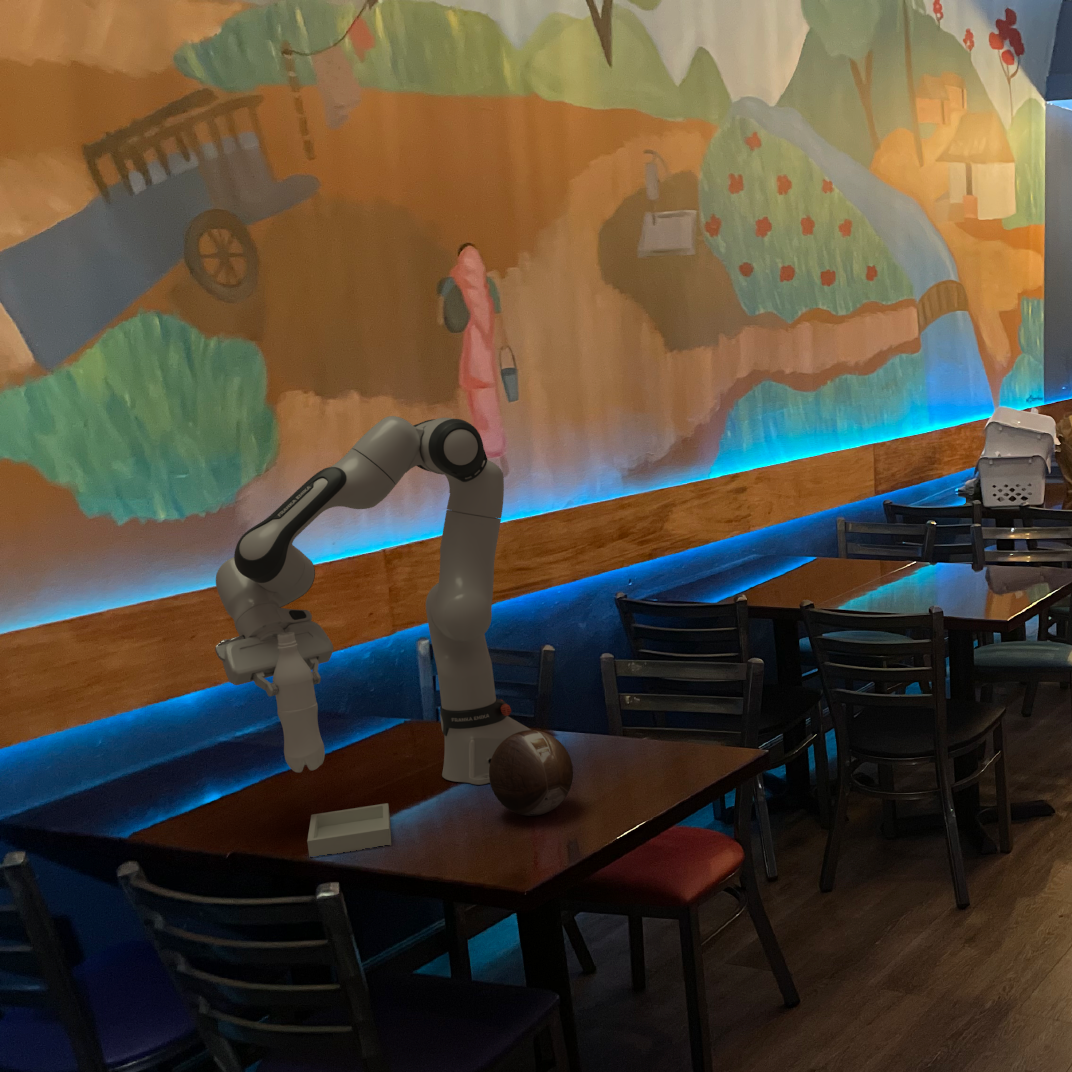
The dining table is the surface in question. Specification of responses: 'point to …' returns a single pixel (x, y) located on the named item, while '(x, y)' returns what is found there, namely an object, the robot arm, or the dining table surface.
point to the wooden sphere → (531, 772)
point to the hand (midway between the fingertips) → (295, 688)
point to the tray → (349, 830)
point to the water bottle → (297, 707)
